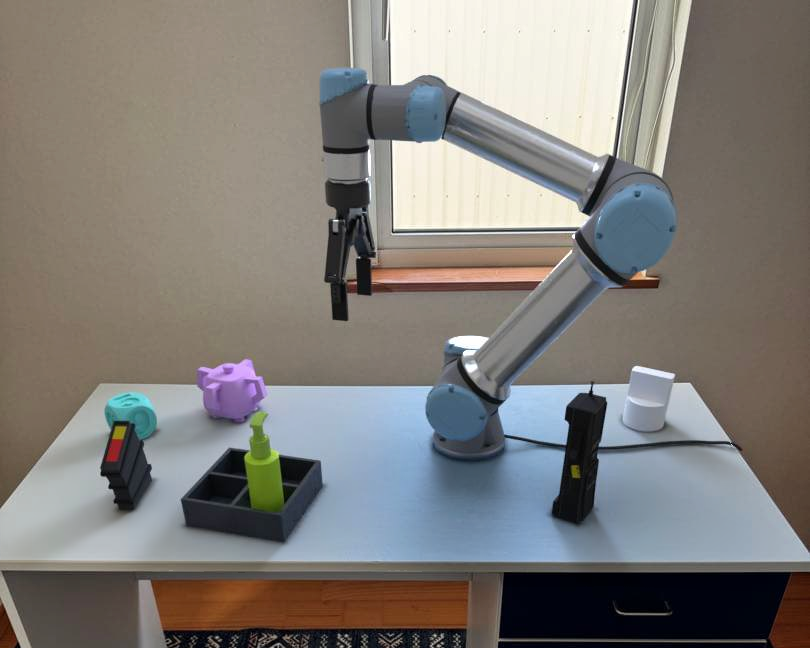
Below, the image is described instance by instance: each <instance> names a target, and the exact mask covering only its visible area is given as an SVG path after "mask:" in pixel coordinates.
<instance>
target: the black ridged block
mask: <svg viewBox="0 0 810 648" xmlns="http://www.w3.org/2000/svg"><path fill="white" fill-rule="evenodd" d="M135 427H136V425H135V424H134V423H130V421H114V422H113V425H112V428H111V430H110V431H109V435H108V439H107V442H106V446H105V450H104V453H103V456H102V460H101V463H100V467H99V469H100V474H99V475H100V476H101V478H102V477H103V478H106V479H107V481H108V486H107V489H108V490H112V491H113V494H114V499H113V500H112V502H113V504H114V505H117V508H118V509H119V510H135V509H136V507H137V505H138V504H139V502H140V500H141V499H142V497H143V496H144V494H145V492H146V491H147V489H148V488H149V486H150V484H151V482H152V481H153V478H152V477H153V476H152V474H151V471H152V470H153V466H152V463H148V459H147V456H146V453H145V451H144V447H145V443H144V440H139V438H138V436H137V433H136V432H135Z"/></svg>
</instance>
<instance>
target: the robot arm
mask: <svg viewBox="0 0 810 648" xmlns="http://www.w3.org/2000/svg"><path fill="white" fill-rule="evenodd" d="M368 77H369V76H368V73H367V71H366V70H365V69H364V68H359V67H357V68H356V67H332V68H327V69H324V70H323V71H322V72H321V73H320V75H319V102H318V106H319V111H320V113H319V114H320V124H321V125H320V127H321V138H322V140H321V141H322V155H321V157H320V160H321V162H323V170H324V171H323V173H324V177H325V178H326V179H327V180H325V182H324V193H325V194H324V195H325V203H326V205H327V206H328V207H330V208H333V209H334V210H335V217H334V218H328V222H327V224H328V228H327V229H328V235H327V237H328V238H327V246H326V257H325V258H326V259H325V268H324V277H323V281H324V283H325V284H330V302H331V318H332V321H338V322H339V321H340V322H348V321H349V320H350V319H349V301H348V282H347V281H345V280H346V275H347V269H348V264H349V259H350V252H351V248H352V246H353V247H354V250H355V253H356V255H357V257H356V258H355V271H356V272H355V273H356V274H355V275H356V292H357V293H356V294H357V295H356V296H368V297H372V296H373V278H372V277H373V276H372V259H376V258H377V251H376V245H375V241H374V235H373V230H372V229H373V228H372V224H371V219H370V214H369V205H370V204H371V202H372V194H371V193H372V191H371V190H372V189H371V181H370V180H369V178H370V177H371V153H370V151H371V150H370V140H372V141H378V140H379V141H393V142H394V141H396V142H411V143H413V142H414V143H415V142H416V144H422V143H427V142H428V143H430V142H432V143H433V142H438V141H440V140H443V141H445V142H447V143H449V144H452V145H453V146H456V147H458V148H460V149H462V150H465V151H466V152H469V153H471V154H472V155H475V156H477V157H479V158H480V159H481V158H482V159H484V160H485V161H488V162H490V163H492V164H494V165H496V166H498V167H500V168H503V169H505V170H506V171H508V172H511V173H513V174H515V175H517V176H519V177H521V178H523V179H526V180H527V181H529V182H532V183H534V184H536V185H538V186H540V187H542V188H544V189H546V190H548V191H551V192H552V193H555V194H557V195H559V196H561V197H564V198H565V199H568V200H569V201H572V202H573V203H575V204H576V205H577V208H578V212H579V213H582V214H584V215H586V216H588V218H587V219H586V220H585V221H584V222H583V223H582V225H581V226H580V227H579V228H578V229H577V230H576V231H575V232H574V233H573V235H572V247H571V250H570V251H569V253H568V254H566V255H565V256H564V258H563V259H562V260H561V261H560V262H559V263H558V264H557V265H556V266H555V267H554V268H553V269H552V271H550V273H549V274H548V275H547V276H546V277H545V278H544V279H543V280H542V281H541V282H540V283H539V284H538V285H537V286H536V288H534V290H533V291H532V292H531V293H530V294H529V295H528V296H527V297H526V298H525V299H524V300H523V301H521V303H520V304H519V306H517V308H516V309H514V311H513V312H512V313H511V314H510V315H509V316H508V317H507V318H506V319H505V320H504V321H503V322H502V324H501V325H499V326H498V327H497V328H496V330H495V331H494V332H493V333H492V334H491V335H490V336H489V337H486V336H480V335H460V336H455V337H452V338H449V339H448V340H446V342H445V344H444V349H443V352H442V353H443V358H444V359H443V367H442V368H441V370H440V372H439V374H438V376H437V377H436V378H437V379H436V380H435V382H434V384H433V386H432V388H431V390H430V391H429V392H428V394H427V396H426V402H425V406H424V408H425V410H424V411H425V417H426V420H427V422H428V424H429V425H430V427H431V428H432V429H433V430H434V431H433V437H432V439H433V440H432V443H433V447H434V448H435V450H436V451H437V452H439V453H440V454H442V455H443V456H445V457H449V458H451V459H455V460H460V461H482V460H486V459H487V460H488V459H490V458H493V457H495V456H497V455H498V454H500V453H501V452H502V451H503V449H504V447H505V442H506V439H510V440H515V441H520V442H524V443H529V444H530V443H531V444H535V445H540V446H546V447H554V448H562V449H566V444H562V443H554V442H547V441H540V440H535V439H532V438H531V439H530V438H527V437H526V438H525V437H521V436H516V435H510V434H505V432H504V428H503V424H502V420H501V416H500V412H499V408H500V407H501V406H502V405H503V404H504V403H505V402H506V401H507V400H508V399H509V398H510V397H511V393H512V389H511V384H513V383H514V382H515V380H516V379H518V378H519V377H520V376H521V375H522V374H523V373H524V372H525V371H526V369H528V368H529V367H530V366H531V365H532V364H533V363H534V362H535V361H536V360H537V359H538V358H539V357H540V356H541V355H542V354H543V353H544V352H546V350H547V349H548V348H549V347H550V346H551V345H552V344H554V342H556V340H557V339H559V337H560V336H561V335H562V334H563V333H564V332H566V330H567V329H569V327H570V326H572V325H573V323H574V322H576V321H577V320H578V319H579V317H580V316H582V315H583V314H584V313H585V312H586V311H587V310H588V309H589V308H590V307H591V306H592V305H593V304H594V303H595V302H596V301H597V300H598V299H599V298H600V297H601V296H602V295H603V294H604V293H605V292H606V291H607V290H608V289H611V288H623V287H625V286H626V285H627V284H628V283H629V282H630V281H632V279H633V278H634V277H635V276H636V275H637V274H638V273H641V272H643V271H646V270H648V269H650V268H652V267H653V266H655V265H656V264H658V263H659V262H660V261H661V260H662V259H663V258H664V257H665V255H666V254H667V253H668V252H669V250H670V248H671V246H672V244H673V241H674V239H675V235H676V233H677V228H678V227H677V226H678V215H677V208H676V205H675V204H674V203H675V202H674V196H673V192H672V190H671V188H670V186H669V185H668V183H667V182H666V181H665V179H663V177H661V176H660V175H658V174H657V173H656V172H653V171H651V170H648V169H647V168H643V167H640V166H638V165H635V164H633V163H630V162H628V161H626V160H623V159H620V158H618V157H616V156H614V155H611V154H609V153H605V154H602V155H600V156H597V155H595V154H593V153H591V152H588V151H587V150H584V149H582V148H580V147H578V146H576V145H574V144H573V143H569V142H567V141H565V140H563V139H561V138H559V137H557V136H555V135H553V134H551V133H548V132H546V131H544V130H542V129H540V128H537V127H536V126H534V125H532V124H529V123H527V122H525V121H522V119H518V118H517V117H515V116H512V115H511V114H509V113H506V112H504V111H502V110H500V109H497V108H495V107H493V106H491V105H489V104H487V103H485V102H482V101H481V100H479V99H476V98H474V97H472V96H470V95H468V94H466V93H463V92H461V91H459V90H458V89H455V88H453V87H451V86H449V85H448V84H447V83H446V81H445V80H443V78H441V77H439V76H436V75H432V74H422V75H420V76H417V77H415V78H414V79H413V80H411V81H409V82H406V83H404V84H374V83H370V80H369V78H368ZM730 442H731V443H730ZM689 444H690V445H693V444H696V445H726V446H727V445H728V446H732V445H733V446H732V447H734V448H736V449H737V450H738V451H739V452H743V451H744V449H743V448H742V447H741V446H740V445H739V444H738V443H736V442H733V441H729V440H701V439H699V440H698V439H696V440H695V439H693V440H692V439H691V440H689V439H688V440H687V439H686V440H685V439H684V440H669V441H667V440H666V441H657V442H648V443H647V442H646V443H637V444H635V443H634V444H627V445H612V446H611V445H610V446H608V445H607V446H599V448H598V451H611V450H612V451H613V450H627V449H638V448H648V447H649V448H650V447H658V446H666V445H667V446H668V445H669V446H670V445H689ZM731 444H732V445H731Z"/></svg>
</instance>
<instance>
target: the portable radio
mask: <svg viewBox="0 0 810 648" xmlns="http://www.w3.org/2000/svg"><path fill="white" fill-rule="evenodd" d="M594 384H595V381H594V380H590V390H588V392H578V393H577V395H576V396H574V397H573V399H572V400H570V402H569V403H568V404H567V405H566V407H565V411H564V412H565V413H564V421H565V422H567V424H568V429H567V435H566V441H565V442H566V443H565V445H566V448H564V449H565V450H564V456H563V457H564V458H563V464H562V470H561V476H560V477H561V478H560V485H559V492H558V495H557V496H556V497H555V499H553V501H552V507H551V515H552V516H554V517H556V518H559V519H561V520H564V521H568V522H570V523H574V524H577V525H578V524H580V523H582V522H583V521H584V520H585V519H586V518H587V516H589V514H590V513H591V511H592V510H593V508H594V507H595V498H596V497H595V496H596V495H595V494H596V486H597V479H598V471H599V463H600V459H599V458H598V455H599V454H598V453H599V450H598V448H599V447H600V443H601V442H602V438H603V432H604V426H605V420H606V413H607V408H608V401H607V397H606V396H603V395H599V394H595V393H594V391H593V388H594Z"/></svg>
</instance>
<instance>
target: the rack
mask: <svg viewBox="0 0 810 648" xmlns="http://www.w3.org/2000/svg"><path fill="white" fill-rule="evenodd" d="M249 451H251V449H243V448H236V447H230V446H229V447H228V448H227V449H226V450H225V451H224V452H223V453H222V455H221V456H219V458H217V460H216V461H215V462H214V463H213V464H212V465H211V466H210V467H209V468H208V469H207V471H205V473H203V475H201V477H200V478H198V480H197V481H196V482H195V483H194V484H193V485H192V486H191V487H190V488H189V490H188V491H187V492H186V493H185V494H184V495H183V496H182V497H181V498H180V503H181V508H182V512H183V517H184V521H185V525H186V527H193V528H198V529H205V530H209V531H215V532H221V533H227V534H233V535H239V536H245V537H251V538H257V539H261V540H267V541H268V540H269V541H275V542H280V543H285V542H286V541H287V539H288V538H289V536H290V535H291V534H292V532H293V530H294V529H295V528H296V526H297V525H298V523H299V522H300V520H301V519H302V517H303V516H304V514H305V513H306V511H307V510H308V509H309V507H310V506H311V504H312V503H313V501H314V499H315V498H316V497H317V495H318V494H319V492H320V490H322V488H323V486H324V484H323V472H322V471H323V470H322V460H319V459H314V458H313V459H312V458H305V457H300V456H299V457H298V456H290V455H284V454H279V462H280V471H281V480H282V488H283V497H284V506H283V508H282V509H281V510H280V512H279V513H278V512H272V511H266V510H259V509H253V508H252V507H251V500H250V493H249V486H248V480H247V473H246V466H245V459H244V457H245V455H246V453H248V452H249Z"/></svg>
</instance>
